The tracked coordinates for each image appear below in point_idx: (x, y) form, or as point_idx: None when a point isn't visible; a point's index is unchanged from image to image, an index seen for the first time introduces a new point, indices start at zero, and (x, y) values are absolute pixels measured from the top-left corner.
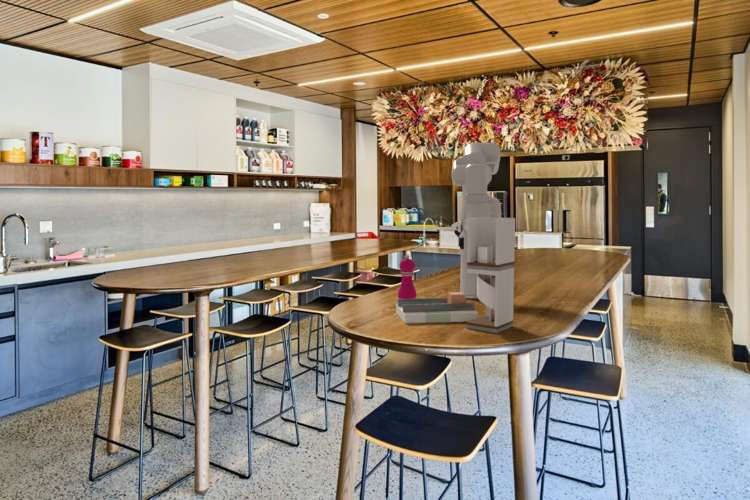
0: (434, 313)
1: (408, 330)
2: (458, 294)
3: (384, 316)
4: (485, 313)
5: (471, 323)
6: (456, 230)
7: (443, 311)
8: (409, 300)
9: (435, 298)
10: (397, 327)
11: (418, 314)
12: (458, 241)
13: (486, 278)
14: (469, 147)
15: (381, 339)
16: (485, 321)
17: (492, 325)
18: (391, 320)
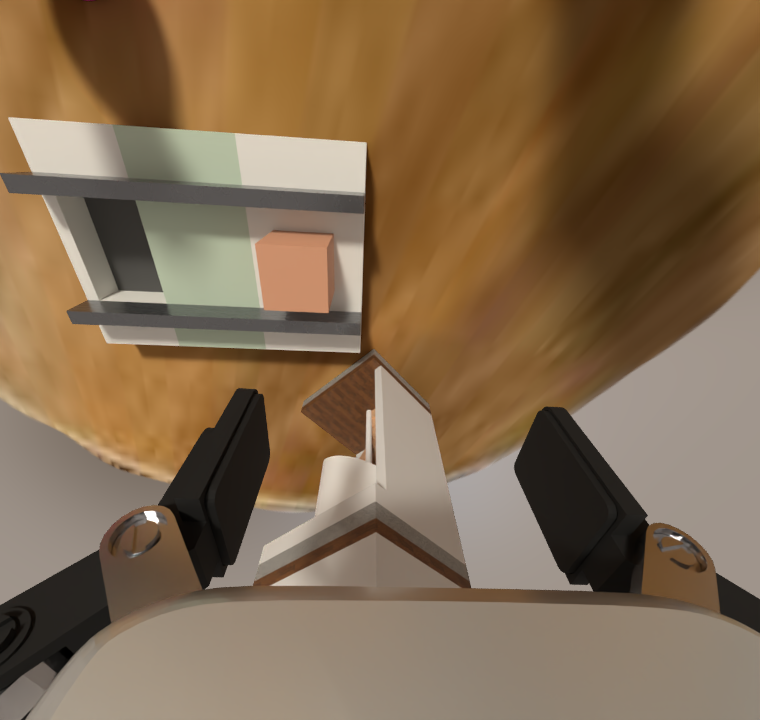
0: (210, 345)
1: (148, 398)
2: (297, 308)
3: (18, 207)
4: (375, 375)
5: (312, 419)
6: (19, 715)
7: None
8: (75, 196)
9: (206, 202)
10: (111, 367)
11: (155, 343)
12: (181, 468)
13: (368, 483)
14: None
15: (95, 451)
16: (353, 416)
17: (355, 448)
18: (68, 281)
